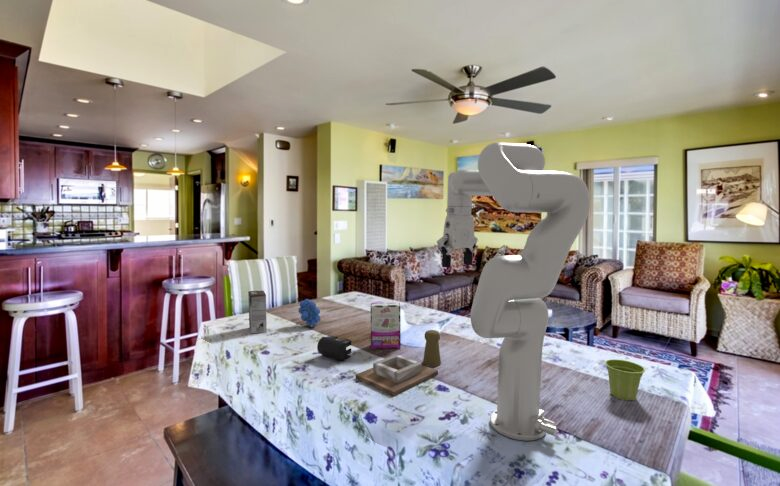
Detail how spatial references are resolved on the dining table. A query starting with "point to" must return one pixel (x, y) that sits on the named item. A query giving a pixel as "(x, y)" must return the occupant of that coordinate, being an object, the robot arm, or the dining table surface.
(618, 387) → the plant pot
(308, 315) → the blue scalloped wheel
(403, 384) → the socket board
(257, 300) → the coffee box
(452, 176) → the robot arm
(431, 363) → the cork
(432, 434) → the dining table surface
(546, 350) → the dining table surface
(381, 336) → the candy bar box
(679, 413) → the dining table surface
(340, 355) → the end cap
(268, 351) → the dining table surface
